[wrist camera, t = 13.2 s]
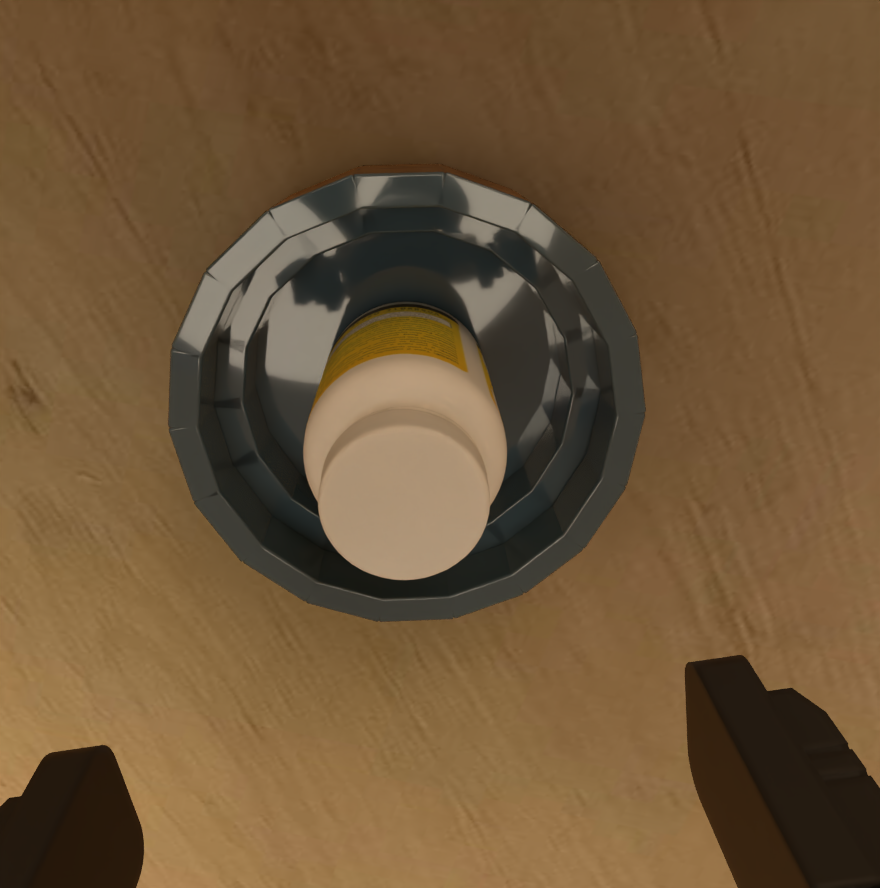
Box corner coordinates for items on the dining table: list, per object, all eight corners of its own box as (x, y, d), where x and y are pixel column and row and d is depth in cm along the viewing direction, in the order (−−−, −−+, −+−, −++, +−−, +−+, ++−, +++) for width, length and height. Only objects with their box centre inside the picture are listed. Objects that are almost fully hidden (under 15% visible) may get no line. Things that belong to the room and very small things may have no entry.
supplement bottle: (292, 368, 28) (235, 492, 18) (416, 265, 26) (420, 342, 17) (397, 481, 29) (391, 645, 20) (517, 387, 28) (570, 516, 19)
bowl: (178, 168, 26) (128, 179, 21) (619, 157, 26) (665, 166, 22) (230, 553, 31) (198, 629, 26) (598, 539, 31) (631, 613, 27)
